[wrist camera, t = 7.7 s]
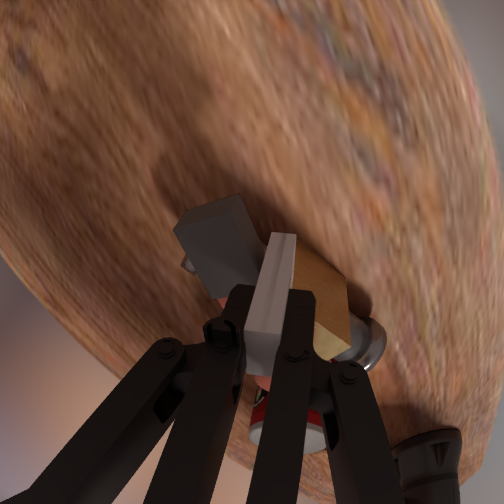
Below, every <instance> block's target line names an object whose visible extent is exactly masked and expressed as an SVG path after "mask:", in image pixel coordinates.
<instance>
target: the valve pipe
mask: <svg viewBox="0 0 504 504" xmlns="http://www.w3.org/2000/svg"><path fill="white" fill-rule="evenodd" d="M260 242H261V241H260ZM261 244H262V246H263V249H264V251H265V253H266V250H267V247H268V246H266V245H265V244H264V243H263V242H261ZM180 266H181V267H183V268H184V269H185V270H187V271H188V272H189V273H191V274H192V275H196V274H197V272H196V271H195V269H194V267H193V265H192V264H191V262H190V260H189V258H188V256H187V255H185V257H184V259H183V260H182V262H181V265H180ZM292 289H299V290H310V291H312V292H313V294H314V296H315V298H316V309H315V324H314V338H313V347H314V350H315V352H316V353H317V354H318V356H320V357H321V358H322V359H324V360H326V361H328V360H329V359H331V363H334V364H337V363H338V362H341V361H344V360H348V361H354V362H357V363H359V364H360V365H362V366H363V367H364V368H365V370H366V372H368V371H370V370H371V369H372V368H373V367H374V366H375V365H376V364H377V362H378V361H379V360H380V358H381V357H382V355H383V352H384V350H385V347H386V342H387V336H386V331H385V329H384V328H383V327H382V326H381V325H380V324H379V323H378V322H377V321H375V320H374V319H373V318H370V317H362V318H358V317H357V316H356V315H354V314H353V313H352V312H351V311H349V309H348V298H347V288H346V278H345V277H344V276H342V275H341V274H340V273H339V272H338V271H337V270H335V269H334V268H333V267H332V266H331V265H329V264H328V263H327V262H326V261H325V260H323V259H322V258H321V257H320V256H319V255H317V254H316V253H315V252H314V251H313V250H311V249H310V248H309V247H308V246H307V245H305V244H304V243H303V242H302V241H301V240H299V239H298V238H297V237H296V247H295V261H294V274H293V282H292Z"/></svg>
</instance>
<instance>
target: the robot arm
mask: <svg viewBox="0 0 504 504" xmlns="http://www.w3.org/2000/svg"><path fill="white" fill-rule="evenodd" d="M295 247H296V234H289V233H277V232H271V236H270V239H269V243H268V247H267V250H266V254H265V257H264V261H263V264H262V268H261V271H260V275H259V278H258V282H257V285H256V286H254V285H245V284H237V285H236V286H235V287H234V288H233V289H232V290H231V291H230V293H229V296H228V298H227V301H226V304H225V308H224V309H223V312H222V314H221V317H216V318H213V319H211V320H209V321H207V322H206V323H205V325H204V326H203V332H204V337H205V342H203V343H199V344H193V345H183V344H182V343H181V342H180V341H179V340H177V339H175V338H171V337H169V338H162V339H160V340H158V341H156V342H155V343H154V344H153V345H152V346H151V347H150V348H149V349H148V350H147V352H146V353H145V354H144V355H143V356H142V357H141V358H140V360H139V361H138V362H137V363H136V364H135V365H134V366H133V368H132V369H131V370H130V371H129V372H128V373H127V374H126V376H125V377H124V378H123V379H122V380H121V381H120V382H119V384H118V385H117V386H116V387H115V388H114V389H113V391H112V392H111V393H110V394H109V395H108V396H107V397H106V399H105V400H104V401H103V402H102V403H101V404H100V406H99V407H98V408H97V409H96V410H95V411H94V412H93V414H92V415H91V416H90V417H89V418H88V419H87V421H86V422H85V423H84V424H83V425H82V426H81V428H80V429H79V430H78V431H77V432H76V433H75V435H74V436H73V437H72V438H71V439H70V440H69V442H68V443H67V444H66V445H65V446H64V448H63V449H62V450H61V451H60V452H59V453H58V454H57V456H56V457H55V458H54V459H53V460H52V462H51V463H50V464H49V465H48V466H47V467H46V469H45V470H44V471H43V472H42V473H41V475H40V476H39V477H38V478H37V479H36V481H35V482H34V483H33V484H32V485H31V487H30V488H29V489H27V490H25V491H23V492H21V493H19V494H17V495H15V496H13V497H11V498H9V499H6V500H5V501H2V502H0V504H111V503H112V502H113V501H114V500H115V498H116V497H117V496H118V495H119V493H120V492H121V491H122V489H123V488H124V487H125V485H126V484H127V483H128V481H129V480H130V479H131V477H132V476H133V475H134V473H135V472H136V471H137V470H138V468H139V467H140V466H141V464H142V463H143V461H144V460H145V459H146V458H147V456H148V455H149V453H150V452H151V451H152V449H153V448H154V447H155V445H156V444H157V443H158V441H159V440H160V439H161V437H162V436H163V435H164V433H165V432H166V430H167V429H168V428H169V426H170V425H171V423H172V422H173V421H174V420H175V421H174V424H173V426H172V429H171V431H170V434H169V437H168V439H167V442H166V444H165V447H164V449H163V452H162V455H161V457H160V460H159V463H158V465H157V468H156V470H155V473H154V476H153V478H152V481H151V483H150V486H149V489H148V491H147V494H146V497H145V499H144V502H143V504H210V501H211V498H212V494H213V491H214V488H215V484H216V481H217V477H218V474H219V470H220V467H221V463H222V460H223V457H224V453H225V450H226V446H227V442H228V439H229V435H230V432H231V428H232V425H233V421H234V417H235V414H236V410H237V406H238V403H239V399H240V395H241V392H242V388H243V377H244V374H245V370H246V374H251V375H258V376H266V377H272V378H271V384H270V389H269V395H268V400H267V405H266V410H265V416H264V421H263V426H262V431H261V436H260V441H259V446H258V450H257V455H256V460H255V465H254V469H253V474H252V479H251V484H250V488H249V492H248V497H247V501H246V504H296V502H297V495H298V489H299V482H300V475H301V468H302V460H303V453H304V445H305V436H306V427H307V418H308V409H309V408H310V409H313V410H315V411H317V412H319V413H320V418H321V423H322V428H323V433H324V438H325V443H326V449H327V454H328V459H329V464H330V470H331V475H332V481H333V486H334V492H335V497H336V503H337V504H460V492H459V480H458V465H459V460H460V455H461V449H462V436H461V432H460V431H458V430H452V429H448V430H439V431H433V432H429V433H425V434H422V435H418V436H415V437H413V438H410V439H408V440H405V441H403V442H401V443H400V444H398V445H396V446H395V447H394V448H393V449H392V450H391V448H390V444H389V441H388V437H387V434H386V431H385V427H384V424H383V421H382V418H381V414H380V411H379V408H378V405H377V402H376V399H375V396H374V392H373V389H372V386H371V383H370V380H369V377H368V374H367V372H366V370H365V368H364V367H363V366H362V365H360V364H359V363H357V362H354V361H348V360H344V361H341V362H338V363H337V364H334V363H331V362H328V361H326V360H324V359H322V358H321V357H320V356H318V354H317V353H316V352H315V350H314V347H313V338H314V324H315V309H316V298H315V296H314V294H313V292H312V291H310V290H299V289H292V282H293V274H294V261H295Z"/></svg>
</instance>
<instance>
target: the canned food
mask: <svg viewBox="0 0 504 504" xmlns="http://www.w3.org/2000/svg"><path fill="white" fill-rule="evenodd" d="M328 362H331V359H329V360H328ZM268 395H269V392H268V391H266V390H264V389H263V388H261V387H260V386H259V385H258V386H257V391H256V397H255V402H254V407H253V411H252V416H251V423H250V428H249V439H250V440H251V441H252V442H253V443H254V444H255V445H257V446H259V441H260V436H261V431H262V426H263V421H264V416H265V410H266V405H267V400H268ZM324 448H326V443H325V438H324V433H323V428H322V423H321V418H320V413H319V412H317V411H315V410H313V409H310V408H309V409H308V418H307V427H306V436H305V445H304V453H303V454H309V453H314V452H317V451H320V450H322V449H324Z"/></svg>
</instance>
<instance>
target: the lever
mask: <svg viewBox="0 0 504 504" xmlns="http://www.w3.org/2000/svg"><path fill="white" fill-rule="evenodd" d="M173 231H174V233H175V235H176V237H177V238H178V240H179V242H180V244H181V246H182V248H183V249H184V251H185V253H186V255H187V256H188V258H189V260H190V262H191V264H192V265H193V267H194V269H195V271H196V272H197V274H198V276H199V278H200V279H201V281H202V283H203V284H204V286H205V288H206V290H207V291H208V293H209V295H210V296H211V298H212V300H214V299H217V300H218V302H219V303H220V305H221V307H222V309H224V308H225V304H226V301H227V298H228V296H229V293H230V291H231V290H232V289H233V288H234V287H235V286H236V285H237V284H245V285H254V286H256V285H257V282H258V278H259V275H260V271H261V268H262V264H263V261H264V257H265V254H266V253H265V251H264V249H263V246H262V244H261V242H260V239H259V237H258V235H257V233H256V230H255V228H254V226H253V223H252V221H251V219H250V216H249V214H248V212H247V210H246V207H245V205H244V203H243V200H242V198H241V196H240V193H239V194H236V195H233V196H229V197H226V198H223V199H220V200H217V201H214V202H211V203H208V204H205V205H202V206H199V207H196V208H193V209H190V210H187V211H186V212H185V214H184V215H183V216H182V218H181V219H180V220H179V222H178V223H177V224H176V226H175V227H174V229H173ZM271 378H272V377H266V376H258V375H255V380H256V382H257V384H258V385H259V386H260V387H261V388H263V389H264V390H266V391H268V392H269V389H270V384H271Z"/></svg>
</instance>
